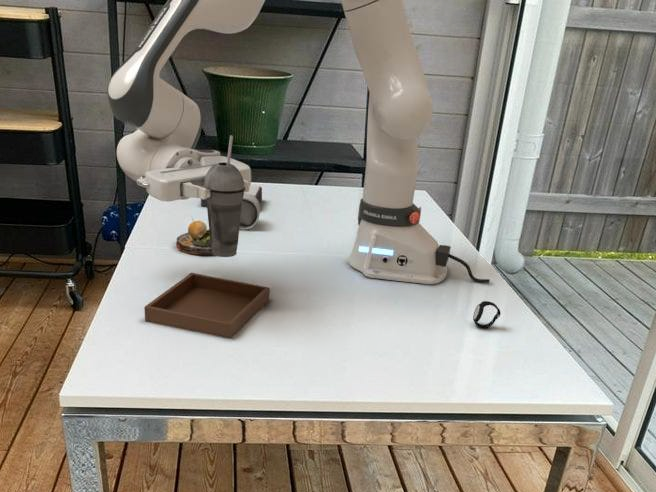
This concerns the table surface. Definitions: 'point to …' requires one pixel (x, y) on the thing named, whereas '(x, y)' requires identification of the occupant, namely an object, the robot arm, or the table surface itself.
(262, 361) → the table surface
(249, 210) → the ceramic mug
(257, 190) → the red and grey box
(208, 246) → the burger
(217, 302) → the tray
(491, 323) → the smartwatch
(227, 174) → the beverage cup
